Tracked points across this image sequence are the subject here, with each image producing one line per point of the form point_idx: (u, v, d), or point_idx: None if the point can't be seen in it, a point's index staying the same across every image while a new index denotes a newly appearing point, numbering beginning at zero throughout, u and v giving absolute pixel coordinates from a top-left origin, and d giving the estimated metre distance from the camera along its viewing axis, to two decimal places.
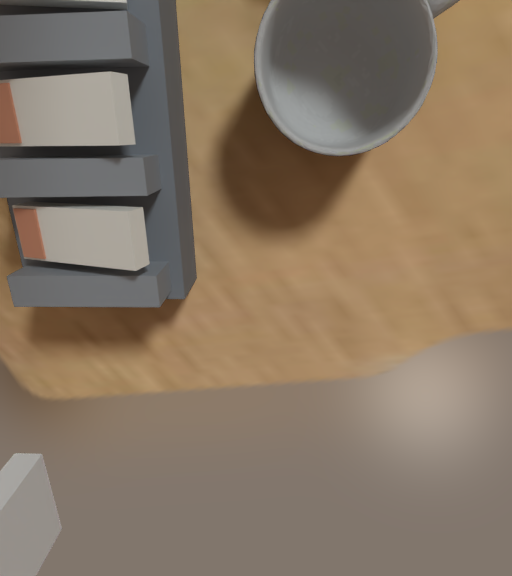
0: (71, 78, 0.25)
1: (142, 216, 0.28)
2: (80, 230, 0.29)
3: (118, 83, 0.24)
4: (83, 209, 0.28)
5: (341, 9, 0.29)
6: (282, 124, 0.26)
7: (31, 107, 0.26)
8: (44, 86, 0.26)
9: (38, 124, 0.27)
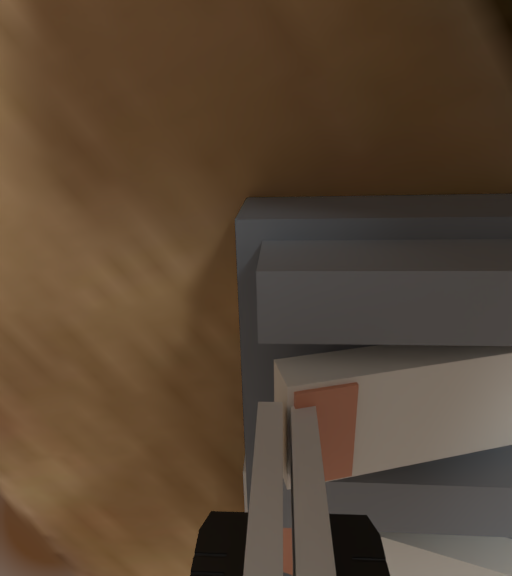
0: (459, 564, 0.15)
1: None
2: None
3: None
4: None
5: None
6: None
7: None
8: (397, 551, 0.16)
9: None
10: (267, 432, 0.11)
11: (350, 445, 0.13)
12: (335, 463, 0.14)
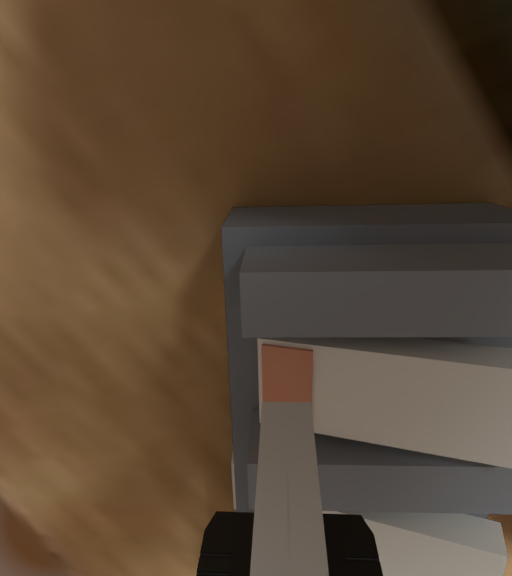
0: (428, 539, 0.17)
1: None
2: None
3: None
4: None
5: None
6: None
7: None
8: (372, 530, 0.18)
9: None
10: (271, 432, 0.11)
11: None
12: None
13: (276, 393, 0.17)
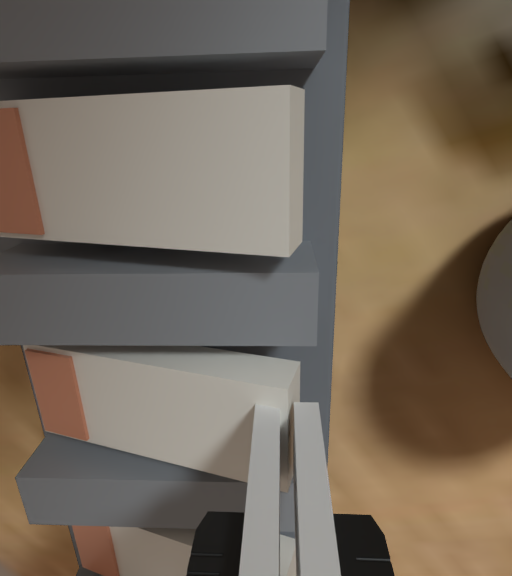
0: (200, 379, 0.13)
1: None
2: (186, 569, 0.17)
3: (292, 393, 0.13)
4: None
5: None
6: None
7: (112, 398, 0.15)
8: (141, 377, 0.14)
9: (123, 423, 0.15)
10: (264, 432, 0.11)
11: (30, 192, 0.12)
12: (20, 212, 0.13)
13: None
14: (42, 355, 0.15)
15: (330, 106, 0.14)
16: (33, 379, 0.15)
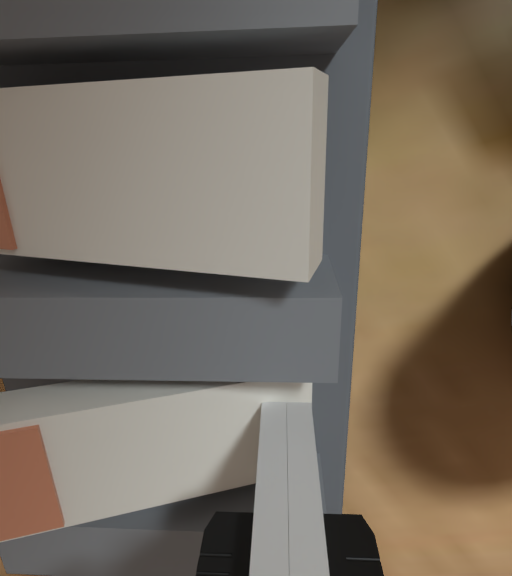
0: (222, 392, 0.12)
1: None
2: None
3: None
4: None
5: None
6: None
7: (103, 456, 0.12)
8: (147, 415, 0.12)
9: (119, 480, 0.12)
10: (271, 432, 0.11)
11: None
12: None
13: None
14: None
15: (354, 98, 0.11)
16: None
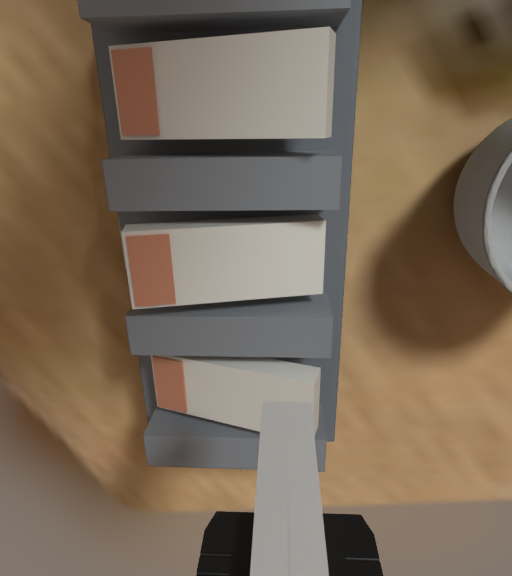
0: (271, 227, 0.21)
1: (319, 378, 0.23)
2: (240, 392, 0.24)
3: None
4: (249, 371, 0.23)
5: None
6: (507, 278, 0.21)
7: (201, 260, 0.21)
8: (227, 236, 0.20)
9: (208, 279, 0.21)
10: (271, 432, 0.11)
11: (153, 105, 0.19)
12: (145, 119, 0.19)
13: (128, 100, 0.19)
14: (144, 237, 0.20)
15: (349, 52, 0.20)
16: (130, 261, 0.20)
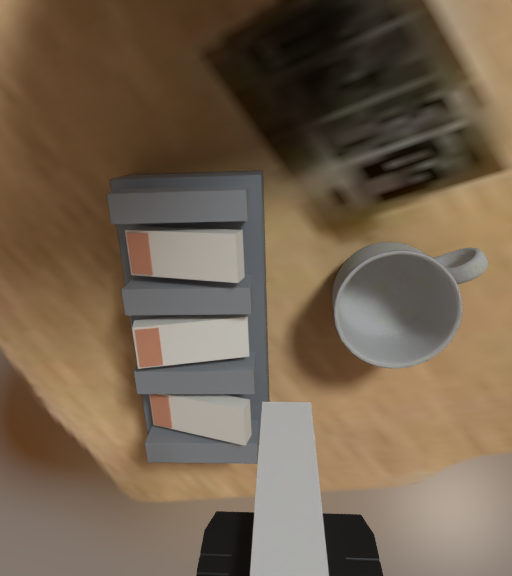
0: (215, 322, 0.37)
1: (249, 405, 0.39)
2: (203, 415, 0.39)
3: None
4: (207, 402, 0.39)
5: None
6: (352, 347, 0.37)
7: (176, 341, 0.37)
8: (191, 327, 0.37)
9: (181, 350, 0.37)
10: (271, 432, 0.11)
11: (149, 260, 0.35)
12: (144, 266, 0.36)
13: (135, 257, 0.36)
14: (144, 330, 0.36)
15: (257, 225, 0.36)
16: (137, 343, 0.36)
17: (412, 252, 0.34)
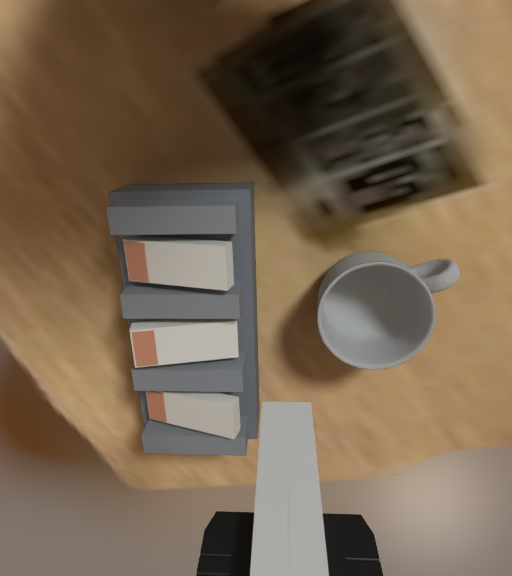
0: (207, 325, 0.39)
1: (238, 402, 0.42)
2: (195, 410, 0.42)
3: None
4: (199, 399, 0.42)
5: None
6: (334, 350, 0.40)
7: (171, 342, 0.40)
8: (184, 330, 0.39)
9: (175, 351, 0.40)
10: (271, 432, 0.11)
11: (145, 268, 0.38)
12: (141, 273, 0.38)
13: (132, 264, 0.38)
14: (141, 332, 0.39)
15: (246, 236, 0.39)
16: (134, 344, 0.39)
17: (389, 263, 0.37)
